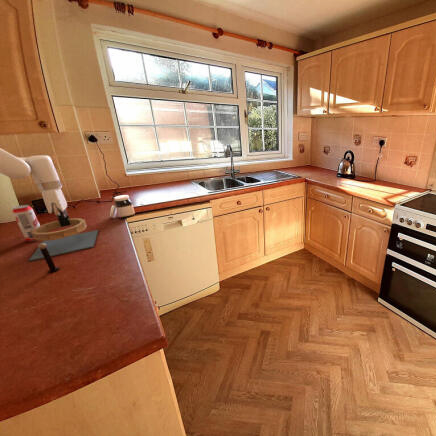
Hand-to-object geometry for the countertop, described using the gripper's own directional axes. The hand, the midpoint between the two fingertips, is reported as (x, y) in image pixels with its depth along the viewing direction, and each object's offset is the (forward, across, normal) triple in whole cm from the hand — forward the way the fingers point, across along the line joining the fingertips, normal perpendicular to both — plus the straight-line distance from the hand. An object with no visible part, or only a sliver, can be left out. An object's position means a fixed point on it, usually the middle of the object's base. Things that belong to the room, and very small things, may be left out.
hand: (66, 224), depth 110 cm
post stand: (+7, +32, 0) cm, 32 cm away
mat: (+7, +8, 0) cm, 10 cm away
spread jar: (+7, -18, +20) cm, 28 cm away
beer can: (+7, -8, -14) cm, 18 cm away
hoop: (+1, +8, 0) cm, 8 cm away
